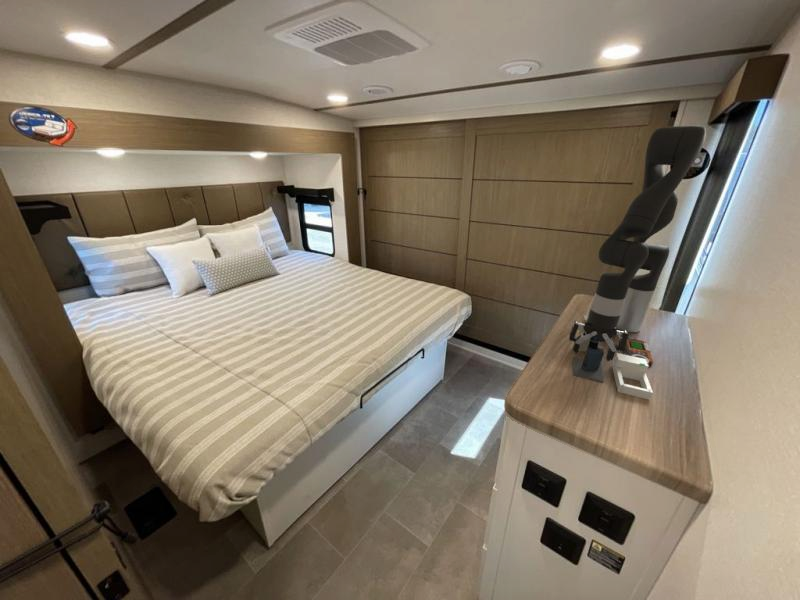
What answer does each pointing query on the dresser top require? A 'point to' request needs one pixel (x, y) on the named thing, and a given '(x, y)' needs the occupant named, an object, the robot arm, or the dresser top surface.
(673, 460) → the dresser top surface
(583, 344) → the skincare box
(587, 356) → the vaping device
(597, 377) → the mat
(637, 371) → the dock
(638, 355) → the electronic device
